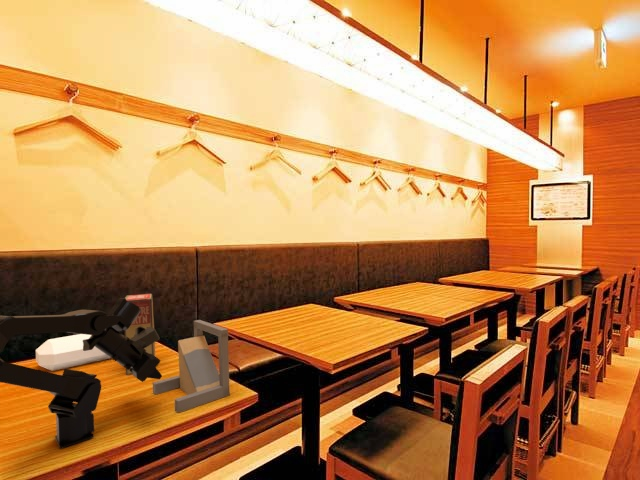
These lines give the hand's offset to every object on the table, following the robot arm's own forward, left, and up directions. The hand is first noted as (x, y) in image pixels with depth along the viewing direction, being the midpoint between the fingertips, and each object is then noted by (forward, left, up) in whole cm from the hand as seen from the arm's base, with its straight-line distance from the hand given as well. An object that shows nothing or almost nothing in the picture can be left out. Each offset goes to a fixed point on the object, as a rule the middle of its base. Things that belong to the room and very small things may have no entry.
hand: (160, 377), depth 103 cm
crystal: (-7, +58, -8) cm, 59 cm away
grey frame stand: (+9, 0, -7) cm, 11 cm away
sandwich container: (+12, -1, -8) cm, 14 cm away
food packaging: (+6, +35, -8) cm, 37 cm away
